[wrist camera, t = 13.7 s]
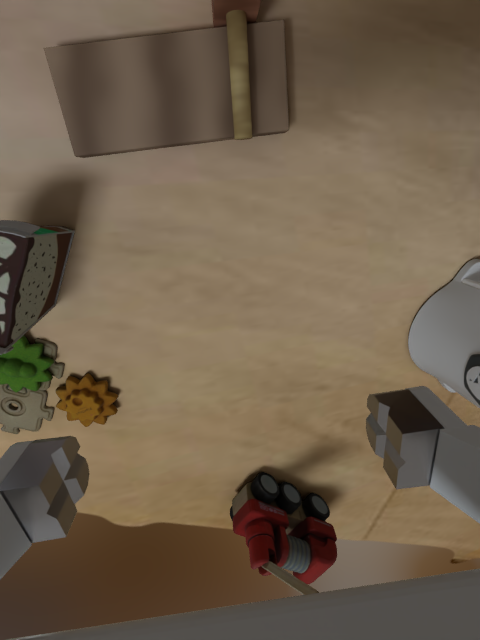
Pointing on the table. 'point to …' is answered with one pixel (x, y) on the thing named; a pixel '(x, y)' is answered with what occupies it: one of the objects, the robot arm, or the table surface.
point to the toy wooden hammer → (238, 57)
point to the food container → (29, 275)
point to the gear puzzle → (34, 379)
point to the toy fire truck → (284, 531)
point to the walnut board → (166, 89)
